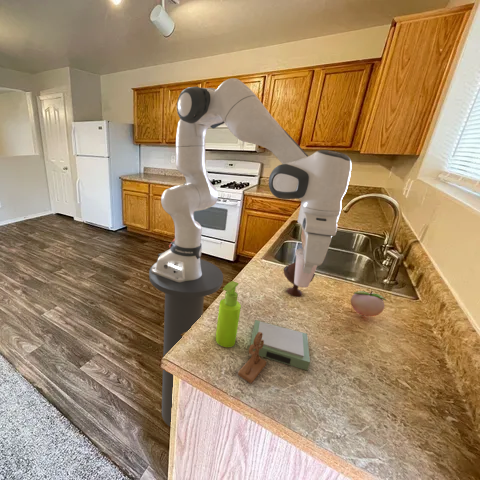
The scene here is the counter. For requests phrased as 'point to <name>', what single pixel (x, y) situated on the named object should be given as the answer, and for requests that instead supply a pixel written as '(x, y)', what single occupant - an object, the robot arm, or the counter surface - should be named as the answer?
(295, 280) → the smoothie
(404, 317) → the counter surface
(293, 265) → the ice cream bowl
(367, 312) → the decorative fruit
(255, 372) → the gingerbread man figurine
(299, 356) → the scale
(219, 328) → the soap dispenser
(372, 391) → the counter surface
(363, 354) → the counter surface
